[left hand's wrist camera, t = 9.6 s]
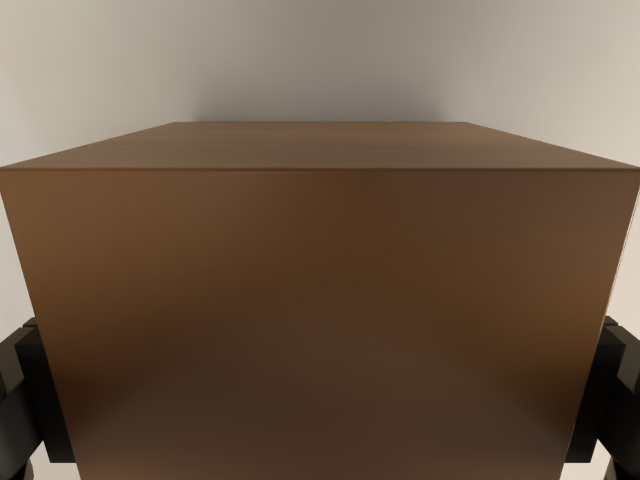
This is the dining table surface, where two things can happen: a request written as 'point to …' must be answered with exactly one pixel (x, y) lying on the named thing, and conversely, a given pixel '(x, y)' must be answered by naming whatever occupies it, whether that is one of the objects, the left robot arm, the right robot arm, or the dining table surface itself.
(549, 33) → the dining table surface
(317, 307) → the wooden square beam
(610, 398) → the left robot arm
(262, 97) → the dining table surface
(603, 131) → the dining table surface
